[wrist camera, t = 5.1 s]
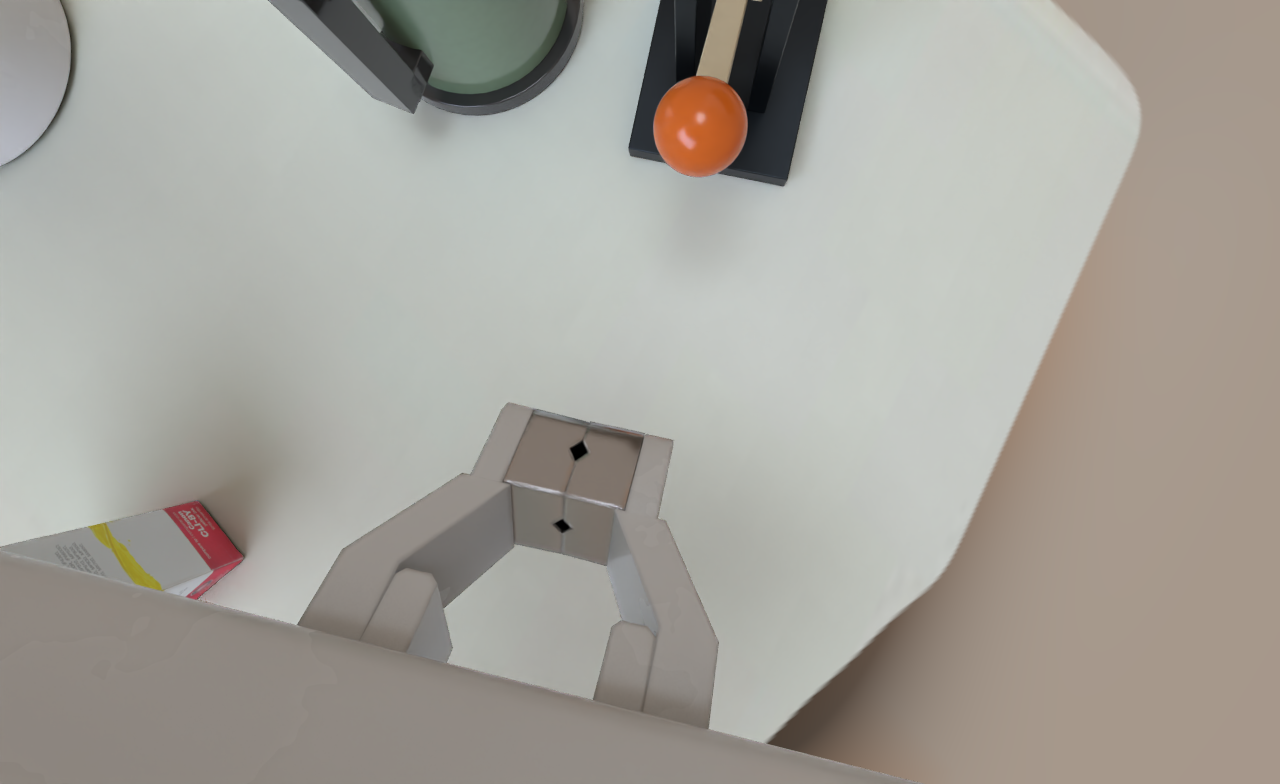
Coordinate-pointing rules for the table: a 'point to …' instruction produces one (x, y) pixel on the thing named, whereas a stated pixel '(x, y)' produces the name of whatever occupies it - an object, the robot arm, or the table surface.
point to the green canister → (444, 47)
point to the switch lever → (706, 104)
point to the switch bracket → (738, 76)
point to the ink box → (145, 550)
